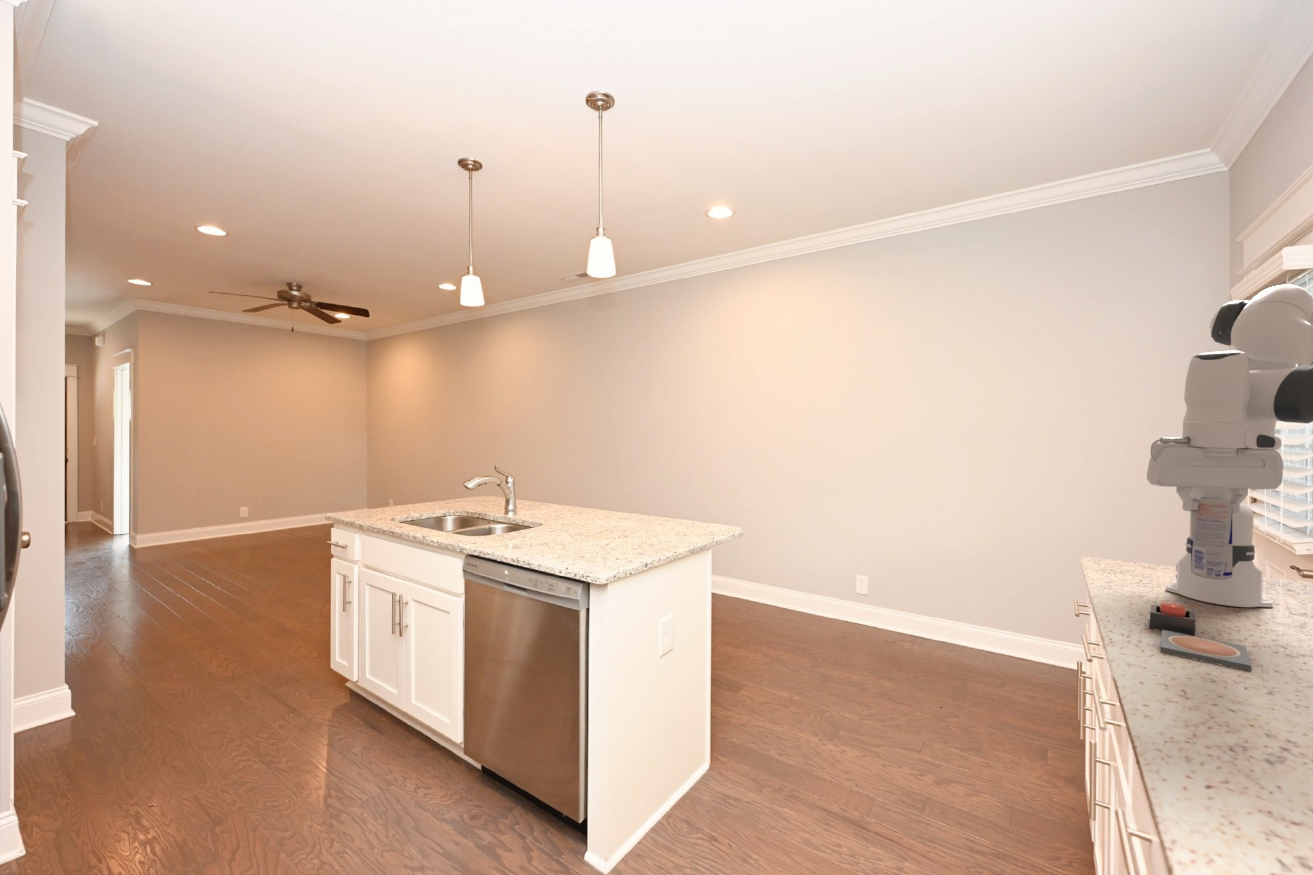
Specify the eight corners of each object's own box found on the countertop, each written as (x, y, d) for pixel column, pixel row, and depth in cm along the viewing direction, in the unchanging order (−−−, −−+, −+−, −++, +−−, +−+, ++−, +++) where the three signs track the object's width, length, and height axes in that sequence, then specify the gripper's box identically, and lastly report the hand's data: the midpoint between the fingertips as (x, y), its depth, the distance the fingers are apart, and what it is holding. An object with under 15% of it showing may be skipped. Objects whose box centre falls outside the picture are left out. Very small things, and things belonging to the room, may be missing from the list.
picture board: (1161, 634, 118) (1161, 628, 118) (1245, 650, 110) (1245, 645, 110) (1160, 651, 109) (1160, 646, 109) (1251, 671, 101) (1251, 665, 101)
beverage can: (1241, 580, 106) (1241, 499, 105) (1206, 580, 107) (1206, 499, 106) (1216, 572, 111) (1216, 495, 111) (1183, 572, 112) (1183, 495, 112)
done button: (1160, 612, 124) (1160, 601, 124) (1185, 617, 122) (1185, 605, 122) (1159, 617, 121) (1160, 605, 121) (1185, 622, 119) (1185, 610, 119)
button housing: (1150, 619, 127) (1151, 604, 126) (1194, 628, 122) (1195, 611, 122) (1149, 628, 121) (1150, 612, 121) (1194, 637, 117) (1195, 620, 116)
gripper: (1163, 437, 106) (1160, 512, 107) (1292, 439, 103) (1288, 516, 104) (1140, 436, 113) (1137, 506, 113) (1261, 438, 110) (1257, 510, 110)
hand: (1210, 511), depth 109 cm, fingers closed on beverage can, 5 cm apart
